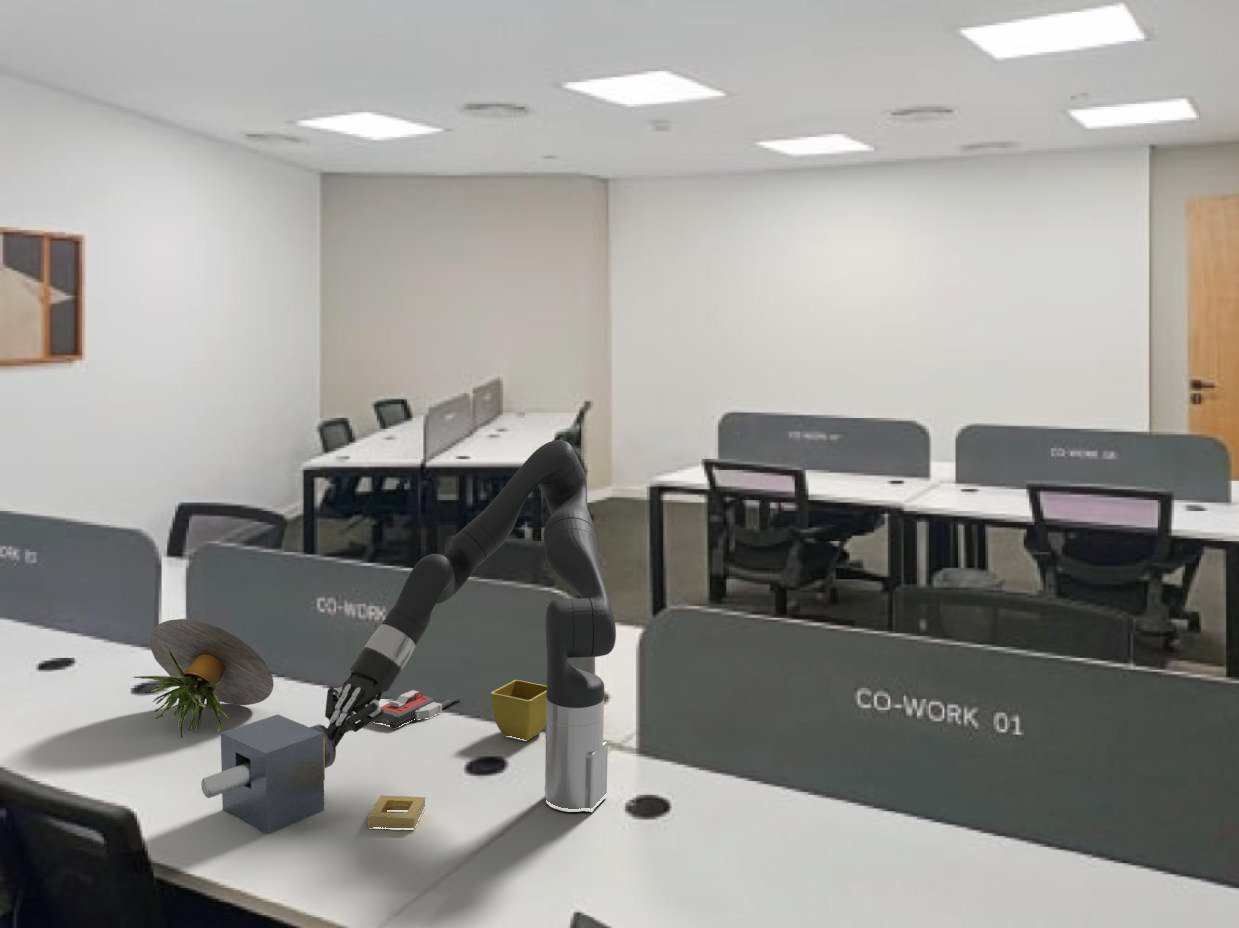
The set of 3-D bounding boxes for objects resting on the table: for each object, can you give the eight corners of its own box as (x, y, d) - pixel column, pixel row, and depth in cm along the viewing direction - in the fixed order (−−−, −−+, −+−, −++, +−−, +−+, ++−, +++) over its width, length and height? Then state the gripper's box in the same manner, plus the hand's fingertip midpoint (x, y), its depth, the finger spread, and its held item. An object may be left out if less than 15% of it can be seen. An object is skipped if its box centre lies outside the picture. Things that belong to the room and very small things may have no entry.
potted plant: (137, 748, 191) (78, 685, 173) (187, 670, 202) (136, 604, 184) (249, 779, 186) (201, 718, 167) (294, 698, 197) (253, 632, 178)
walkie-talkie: (402, 735, 184) (466, 702, 202) (402, 713, 183) (466, 682, 201) (366, 726, 188) (431, 694, 206) (365, 704, 187) (431, 674, 205)
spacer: (425, 809, 154) (425, 797, 154) (413, 831, 147) (413, 818, 147) (380, 807, 155) (380, 795, 154) (367, 829, 148) (367, 816, 147)
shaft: (309, 760, 162) (309, 719, 161) (336, 772, 158) (335, 730, 157) (194, 803, 146) (193, 758, 145) (220, 817, 142) (219, 771, 141)
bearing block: (279, 787, 160) (277, 714, 159) (324, 809, 153) (323, 733, 152) (222, 809, 153) (220, 732, 151) (267, 834, 145) (265, 753, 144)
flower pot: (489, 738, 182) (489, 692, 181) (515, 723, 190) (515, 678, 189) (528, 748, 178) (529, 701, 177) (554, 732, 186) (554, 686, 185)
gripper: (421, 677, 166) (363, 770, 158) (371, 660, 174) (314, 748, 166) (396, 654, 162) (335, 748, 154) (346, 638, 170) (285, 727, 162)
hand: (324, 748), depth 160 cm, fingers closed
